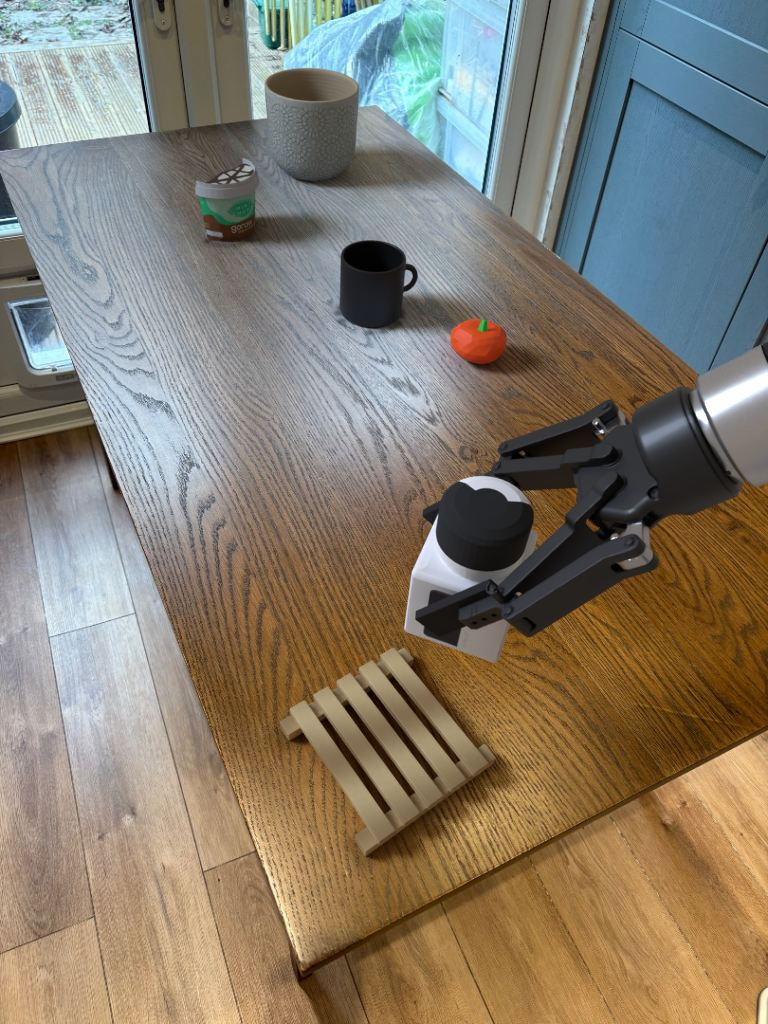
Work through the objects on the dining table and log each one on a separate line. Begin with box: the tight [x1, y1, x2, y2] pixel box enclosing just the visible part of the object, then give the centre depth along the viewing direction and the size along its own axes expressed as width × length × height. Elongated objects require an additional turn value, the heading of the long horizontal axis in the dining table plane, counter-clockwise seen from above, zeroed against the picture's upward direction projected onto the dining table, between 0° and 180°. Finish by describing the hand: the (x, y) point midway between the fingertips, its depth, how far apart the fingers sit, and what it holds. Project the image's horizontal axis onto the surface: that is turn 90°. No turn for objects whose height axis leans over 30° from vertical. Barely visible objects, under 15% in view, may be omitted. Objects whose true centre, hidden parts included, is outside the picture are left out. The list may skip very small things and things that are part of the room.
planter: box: [264, 67, 360, 182], centre depth 140 cm, size 17×17×15 cm
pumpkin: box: [449, 318, 508, 365], centre depth 105 cm, size 7×8×6 cm
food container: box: [194, 157, 260, 243], centre depth 124 cm, size 12×6×10 cm, turn 147°
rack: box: [279, 647, 497, 857], centre depth 67 cm, size 14×14×2 cm
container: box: [403, 475, 539, 663], centre depth 56 cm, size 8×8×13 cm
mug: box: [339, 239, 419, 328], centre depth 111 cm, size 9×12×9 cm
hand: (430, 570), depth 57 cm, fingers closed on container, 9 cm apart
